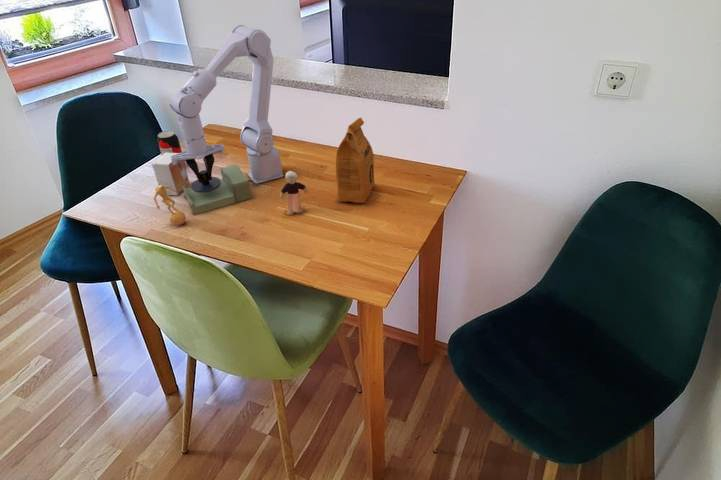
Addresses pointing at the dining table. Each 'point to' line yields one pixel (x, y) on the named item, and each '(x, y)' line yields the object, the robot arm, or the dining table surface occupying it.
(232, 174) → the green step block
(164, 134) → the beverage can
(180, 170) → the small box
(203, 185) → the lid
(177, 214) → the figurine
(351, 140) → the coffee package
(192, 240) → the dining table surface
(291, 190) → the grandmother figurine
